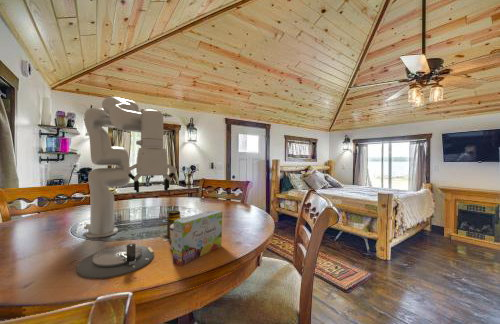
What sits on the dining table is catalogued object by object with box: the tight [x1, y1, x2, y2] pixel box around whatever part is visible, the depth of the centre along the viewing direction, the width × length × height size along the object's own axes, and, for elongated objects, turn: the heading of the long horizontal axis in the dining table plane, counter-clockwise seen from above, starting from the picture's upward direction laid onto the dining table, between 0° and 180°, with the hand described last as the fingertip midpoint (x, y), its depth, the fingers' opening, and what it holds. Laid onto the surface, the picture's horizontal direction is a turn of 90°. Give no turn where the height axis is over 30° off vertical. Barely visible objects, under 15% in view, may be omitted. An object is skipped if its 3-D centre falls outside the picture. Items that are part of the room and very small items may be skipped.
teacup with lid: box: [169, 224, 174, 251], centre depth 89 cm, size 12×9×12 cm
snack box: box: [172, 209, 223, 266], centre depth 84 cm, size 21×6×15 cm, turn 148°
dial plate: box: [76, 244, 155, 279], centre depth 77 cm, size 23×23×1 cm
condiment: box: [160, 210, 182, 242], centre depth 101 cm, size 7×8×12 cm
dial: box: [93, 243, 142, 268], centre depth 76 cm, size 18×15×6 cm
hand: (152, 191), depth 80 cm, fingers open, 9 cm apart
